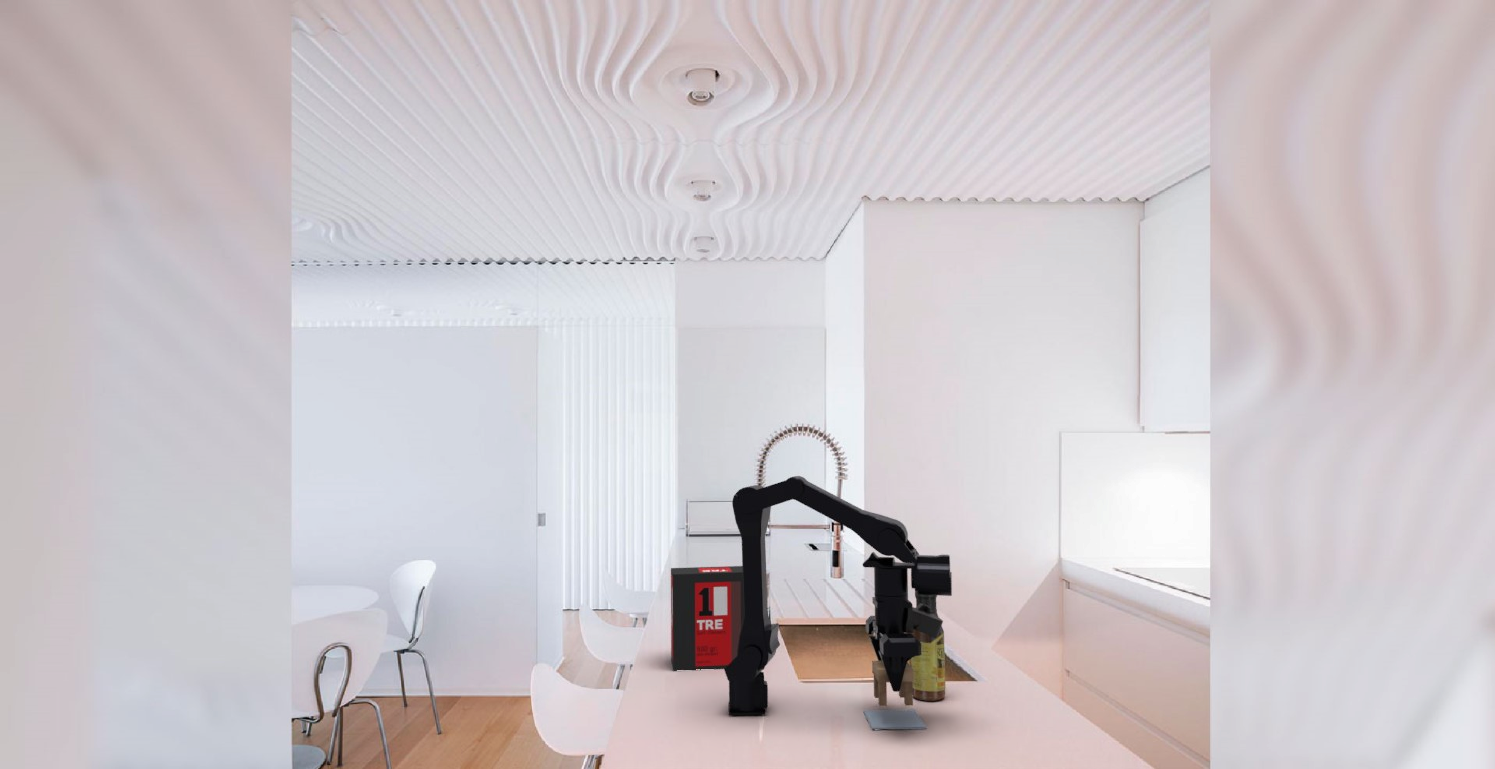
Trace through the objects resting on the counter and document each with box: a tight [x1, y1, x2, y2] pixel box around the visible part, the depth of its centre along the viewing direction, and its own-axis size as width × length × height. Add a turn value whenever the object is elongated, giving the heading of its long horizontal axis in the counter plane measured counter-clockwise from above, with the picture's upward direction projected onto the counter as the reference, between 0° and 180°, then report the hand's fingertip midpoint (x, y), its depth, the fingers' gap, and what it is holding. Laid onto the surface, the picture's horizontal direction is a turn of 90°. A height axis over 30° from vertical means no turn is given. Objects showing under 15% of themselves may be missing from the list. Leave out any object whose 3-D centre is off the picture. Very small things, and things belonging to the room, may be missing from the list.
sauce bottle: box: [910, 590, 946, 702], centre depth 161 cm, size 6×6×20 cm
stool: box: [871, 660, 914, 707], centre depth 148 cm, size 6×6×6 cm
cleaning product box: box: [670, 565, 744, 672], centre depth 186 cm, size 16×9×20 cm, turn 98°
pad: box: [863, 709, 927, 730], centre depth 148 cm, size 9×9×1 cm
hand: (892, 686), depth 148 cm, fingers closed on stool, 6 cm apart
